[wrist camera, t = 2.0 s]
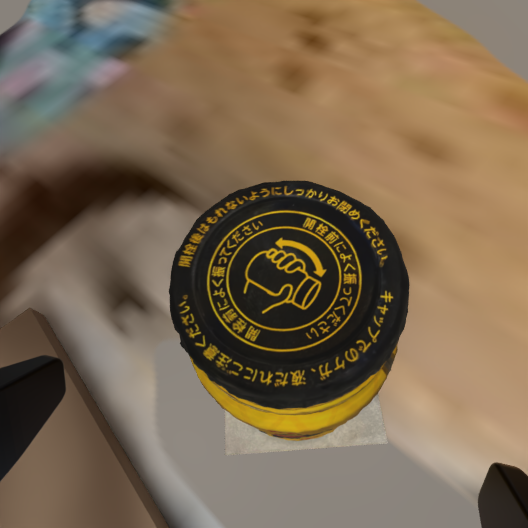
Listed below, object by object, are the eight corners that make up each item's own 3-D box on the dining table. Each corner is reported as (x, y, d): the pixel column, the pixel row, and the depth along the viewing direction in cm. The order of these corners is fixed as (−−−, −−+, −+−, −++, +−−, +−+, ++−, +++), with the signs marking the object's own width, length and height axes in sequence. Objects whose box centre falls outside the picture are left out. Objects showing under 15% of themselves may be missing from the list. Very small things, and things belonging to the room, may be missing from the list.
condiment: (225, 455, 17) (103, 464, 7) (222, 285, 21) (142, 114, 10) (386, 443, 17) (537, 432, 6) (354, 272, 21) (412, 82, 10)
